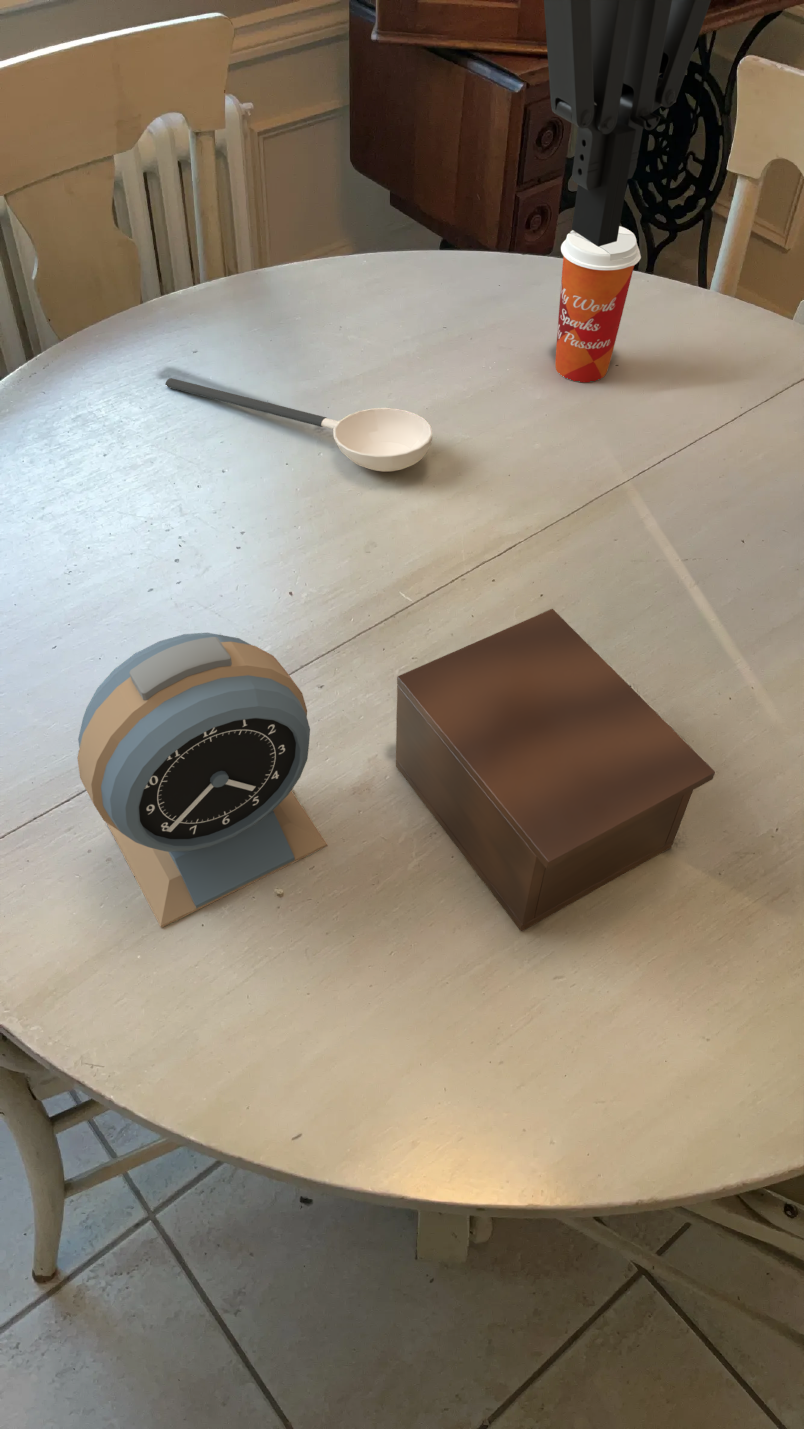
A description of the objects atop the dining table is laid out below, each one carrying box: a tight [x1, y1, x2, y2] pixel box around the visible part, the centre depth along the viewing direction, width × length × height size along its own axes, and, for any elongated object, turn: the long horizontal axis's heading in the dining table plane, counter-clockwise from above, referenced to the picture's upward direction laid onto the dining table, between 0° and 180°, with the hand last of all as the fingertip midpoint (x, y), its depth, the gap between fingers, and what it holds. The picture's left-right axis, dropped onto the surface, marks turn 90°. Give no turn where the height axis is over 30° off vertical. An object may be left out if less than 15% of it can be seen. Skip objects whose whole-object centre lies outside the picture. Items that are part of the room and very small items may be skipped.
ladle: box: [164, 377, 433, 472], centre depth 103 cm, size 8×31×4 cm, turn 60°
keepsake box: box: [395, 685, 694, 933], centre depth 71 cm, size 16×13×9 cm
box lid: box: [396, 608, 716, 869], centre depth 67 cm, size 17×13×1 cm
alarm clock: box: [77, 632, 328, 929], centre depth 66 cm, size 14×10×18 cm
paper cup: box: [555, 225, 642, 383], centre depth 107 cm, size 8×8×14 cm
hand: (594, 234), depth 66 cm, fingers closed
